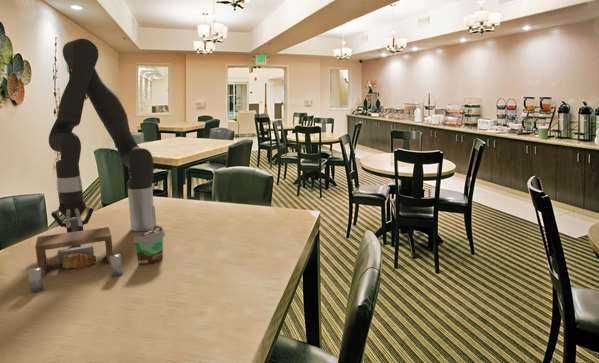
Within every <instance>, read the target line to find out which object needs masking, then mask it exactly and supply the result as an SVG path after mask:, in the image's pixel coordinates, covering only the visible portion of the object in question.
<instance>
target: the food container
mask: <svg viewBox="0 0 599 363" xmlns="http://www.w3.org/2000/svg"><path fill="white" fill-rule="evenodd" d="M163 228H164V227H162V226H161V225H157V224H156V225H154V228H153V229H151V230H148V231H143V233H142V234H141V235H133V244H134V246H135V252H136V259H137V265H138V266H150V265H154V264H157V263H160V262H161V261H163V258H164V257H163V256H164V237H165V235H166V233H165V230H164V229H163Z"/></svg>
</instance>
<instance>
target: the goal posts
mask: <svg viewBox="0 0 599 363" xmlns="http://www.w3.org/2000/svg"><path fill="white" fill-rule="evenodd" d="M122 265H123V264H122V255H121V254H120V253H113V255H110V275H111V277H114V278H116V277H120V276H123V267H122ZM27 276H28V283H29V289H30V293H40V292H42V291H44V289H45V288H44V280H43V277H42V272H41V268H40V267H38V266H37V267H31V268H29V269H27Z"/></svg>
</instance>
